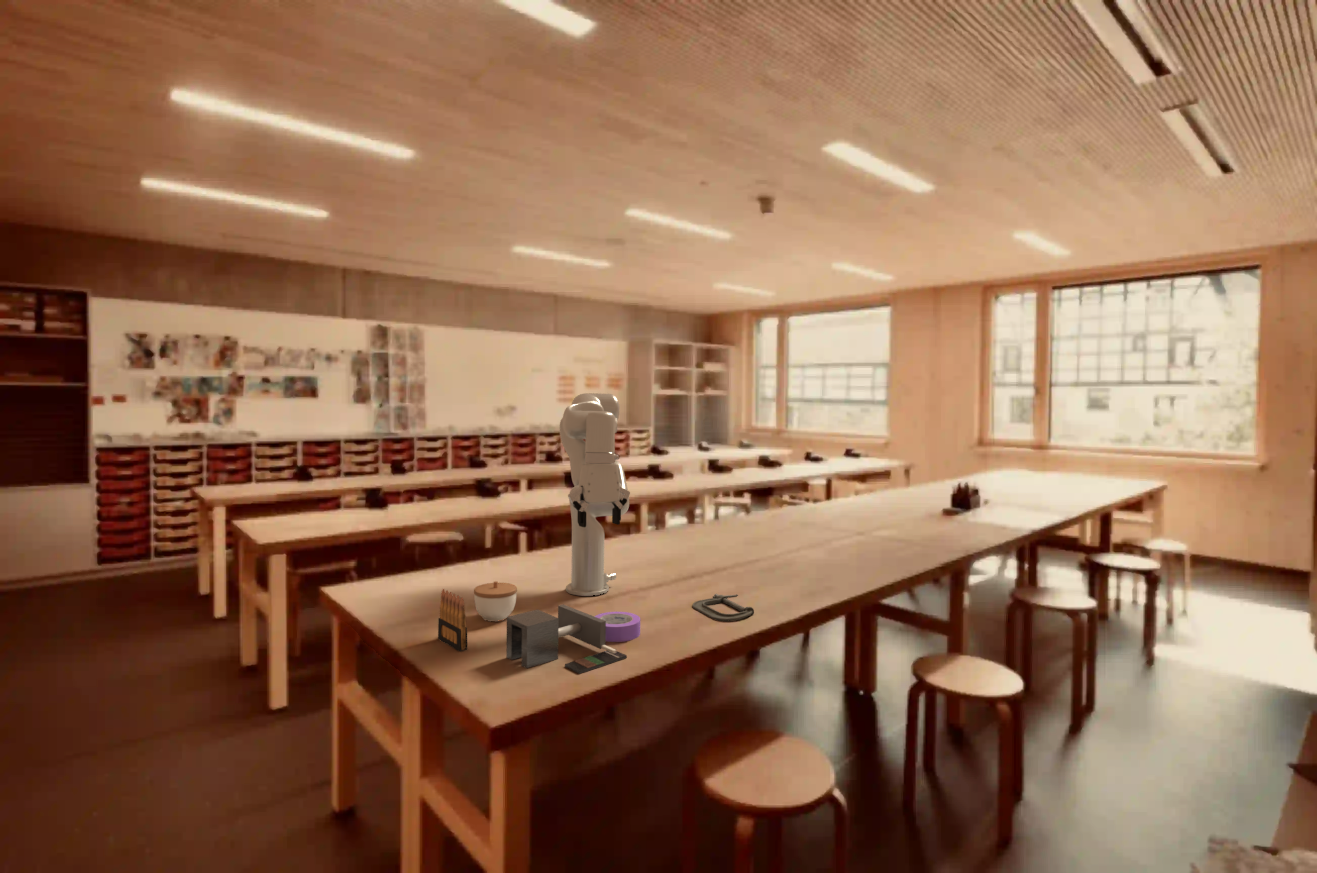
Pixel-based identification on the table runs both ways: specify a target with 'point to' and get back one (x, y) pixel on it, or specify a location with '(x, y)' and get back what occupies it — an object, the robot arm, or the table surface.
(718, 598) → the c clamp
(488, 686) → the table surface
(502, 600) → the lidded jar
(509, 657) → the grey slide fixture
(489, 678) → the table surface
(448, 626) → the ammunition clip
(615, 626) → the masking tape
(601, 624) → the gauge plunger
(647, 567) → the table surface
